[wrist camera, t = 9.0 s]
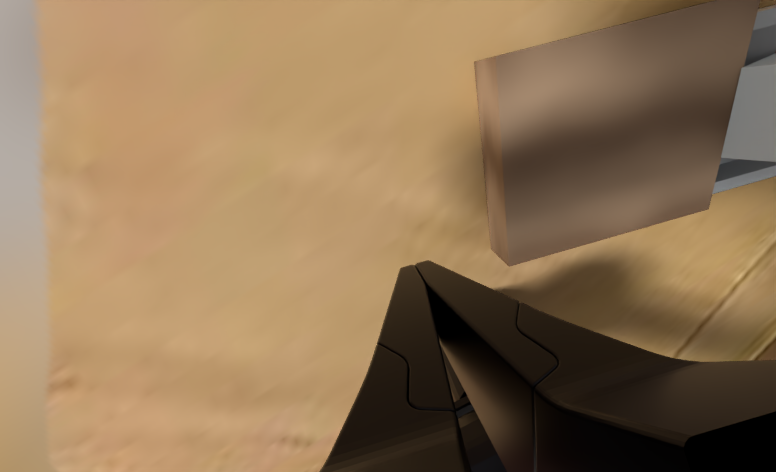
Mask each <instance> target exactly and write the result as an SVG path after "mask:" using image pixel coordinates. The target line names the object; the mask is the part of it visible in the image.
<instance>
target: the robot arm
mask: <svg viewBox="0 0 776 472" xmlns="http://www.w3.org/2000/svg"><path fill="white" fill-rule="evenodd" d="M319 472H776V360H756V361H723V362H698V361H687V360H681V359H675V358H671V357H666V356H662V355H659V354H656V353H653V352H650V351H647V350H644V349H641V348H638V347H636V346H633V345H630V344H627V343H624V342H622V341H619V340H616V339H613V338H610V337H608V336H605V335H602V334H599V333H596V332H594V331H591V330H588V329H585V328H582V327H580V326H577V325H574V324H572V323H569V322H566V321H564V320H561V319H558V318H556V317H553V316H551V315H549V314H546V313H544V312H542V311H539V310H537V309H535V308H532V307H530V306H528V305H526V304H524V303H519V301H517V300H515V299H512V298H510V297H508V296H506V295H504V294H501V293H499V292H497V291H495V290H493V289H491V288H488V287H486V286H484V285H482V284H480V283H477V282H475V281H473V280H471V279H469V278H466V277H464V276H462V275H460V274H458V273H455V272H453V271H451V270H449V269H447V268H444V267H442V266H440V265H438V264H436V263H434V262H431V261H429V260H427V261H423V262H420V263H417V264H416V265H415V266H414V265H409V266H406V267H402V268H401V269H400V271H399V274H398V277H397V281H396V284H395V287H394V290H393V294H392V297H391V300H390V303H389V306H388V310H387V313H386V316H385V319H384V323H383V326H382V329H381V332H380V336H379V339H378V342H377V346H376V348H375V351H374V355H373V358H372V361H371V363H370V366H369V369H368V372H367V375H366V377H365V379H364V382H363V384H362V386H361V388H360V391H359V393H358V395H357V397H356V400H355V402H354V404H353V406H352V408H351V410H350V412H349V414H348V417H347V419H346V421H345V423H344V425H343V427H342V429H341V431H340V434H339V436H338V438H337V440H336V442H335V444H334V446H333V448H332V451H331V453H330V455H329V457H328V458H327V460H326V462H325V464H324V465H323V467H322V469H321V470H320V471H319Z"/></svg>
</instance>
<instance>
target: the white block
mask: <svg viewBox="0 0 776 472" xmlns="http://www.w3.org/2000/svg"><path fill="white" fill-rule="evenodd" d="M721 158H731V159H744V160H757V161H770V162H776V53H775V54H773V55H770V56H768V57H766V58H763V59H761V60H759V61H756V62H754V63H752V64H750V65H747V66H745V67H743V68H741V73H740V77H739V81H738V86H737V90H736V94H735V99H734V103H733V107H732V111H731V116H730V120H729V124H728V129H727V133H726V137H725V142H724V146H723V150H722V155H721Z"/></svg>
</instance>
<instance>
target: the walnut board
mask: <svg viewBox="0 0 776 472" xmlns="http://www.w3.org/2000/svg"><path fill="white" fill-rule="evenodd" d="M759 4H760V0H715V1H711V2H707V3H703V4H699V5H695V6H692V7H688V8H684V9H680V10H676V11H672V12H668V13H664V14H660V15H656V16H652V17H648V18H644V19H640V20H636V21H632V22H629V23H625V24H621V25H617V26H613V27H609V28H605V29H601V30H597V31H593V32H589V33H585V34H581V35H577V36H573V37H569V38H566V39H562V40H558V41H554V42H550V43H546V44H542V45H538V46H534V47H530V48H526V49H522V50H518V51H514V52H510V53H507V54H503V55H499V56H495V57H491V58H487V59H483V60H479V61H475V62H474V64H475V75H476V86H477V97H478V108H479V119H480V130H481V141H482V152H483V163H484V174H485V186H486V197H487V208H488V219H489V230H490V241H491V249H492V250H493V251H494V252H495V253H496V254H497V255H498V256H499V257H500V258H501V259H502V260H503V261H504V262H505V263H506V264H507V265H508V266H513V265H516V264H520V263H523V262H527V261H530V260H534V259H537V258H540V257H544V256H547V255H551V254H554V253H558V252H561V251H565V250H568V249H572V248H575V247H579V246H582V245H586V244H589V243H593V242H596V241H600V240H603V239H607V238H610V237H614V236H617V235H620V234H624V233H627V232H631V231H634V230H638V229H641V228H645V227H648V226H652V225H655V224H659V223H662V222H666V221H669V220H673V219H676V218H680V217H683V216H687V215H690V214H694V213H697V212H700V211H704V210H707V209H709V205H710V201H711V197H712V193H713V189H714V185H715V181H716V177H717V173H718V169H719V165H720V161H721V155H722V150H723V146H724V142H725V137H726V133H727V129H728V124H729V120H730V116H731V111H732V107H733V103H734V99H735V94H736V90H737V86H738V81H739V77H740V73H741V68H743V67H744V64H745V60H746V56H747V52H748V48H749V44H750V40H751V36H752V32H753V28H754V24H755V20H756V16H757V12H758V8H759Z"/></svg>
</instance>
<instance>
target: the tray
mask: <svg viewBox="0 0 776 472" xmlns="http://www.w3.org/2000/svg"><path fill="white" fill-rule="evenodd" d="M775 52H776V5H772V6H768V7H764V8H760V9H758V12H757V16H756V20H755V24H754V28H753V32H752V36H751V40H750V44H749V48H748V52H747V56H746V60H745V64H744V67H745V66H747V65H750V64H752V63H754V62H756V61H759V60H761V59H763V58H766V57H768V56H770V55H773V54H775ZM774 176H776V162H770V161H757V160H744V159H731V158H721V161H720V165H719V169H718V173H717V177H716V181H715V185H714V189H713V193H712V194H715V193H718V192H722V191H725V190H729V189H732V188H736V187H739V186H743V185H746V184H750V183H753V182H757V181H760V180H764V179H767V178H771V177H774Z"/></svg>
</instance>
